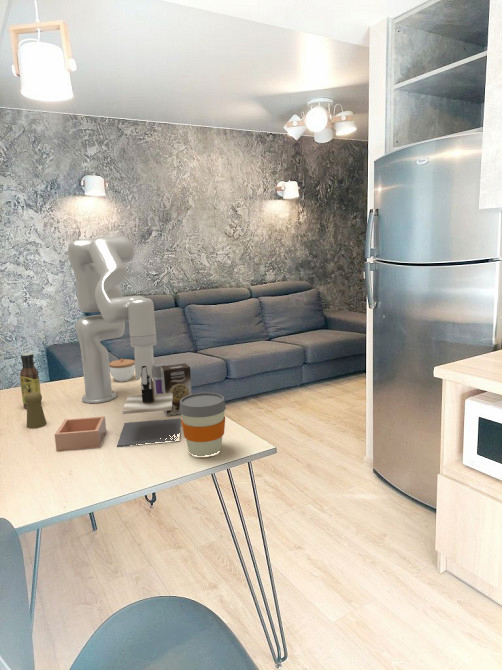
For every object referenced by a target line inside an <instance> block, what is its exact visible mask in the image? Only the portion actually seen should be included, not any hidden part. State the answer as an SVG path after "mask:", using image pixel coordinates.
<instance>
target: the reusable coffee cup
mask: <svg viewBox="0 0 502 670" xmlns="http://www.w3.org/2000/svg"><path fill="white" fill-rule="evenodd" d="M225 401H226V400H225V397H224V395H222V394H220V393H217V392H198V393H197V392H196V393H192V394H191V395H188V396H185V397H183V398H182V399H181V400H180V413H181V414H180V415H181V427H182V432H183V437H184V439H186V445H187V448H188V453H189V452H190V453H191V454H193V455H197V456H205V455H211V454H214V453H217V452H218V451H220V450H221V451H222V446H223V436H224V434H225V427H226V426H225V425H226V424H225V423H226V416H225V410H226V408H227V407H226V402H225Z"/></svg>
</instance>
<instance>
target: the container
mask: <svg viewBox="0 0 502 670" xmlns="http://www.w3.org/2000/svg"><path fill="white" fill-rule="evenodd" d="M161 366H166V364H165V363H161V362H159V363H158V362H157V363H154V375H153V378H152V380H153V385H154V394H162V380H161Z"/></svg>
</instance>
